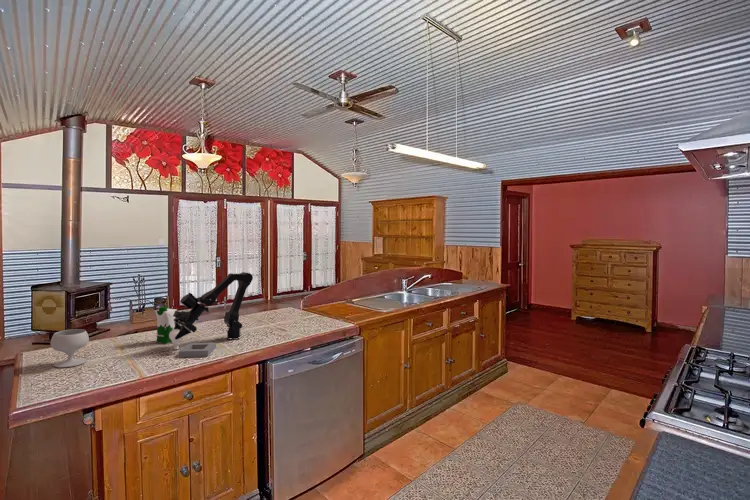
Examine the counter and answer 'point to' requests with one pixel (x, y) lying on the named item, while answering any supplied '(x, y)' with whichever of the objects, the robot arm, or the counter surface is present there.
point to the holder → (197, 350)
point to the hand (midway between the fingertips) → (173, 337)
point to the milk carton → (165, 324)
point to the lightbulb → (172, 337)
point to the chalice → (69, 345)
